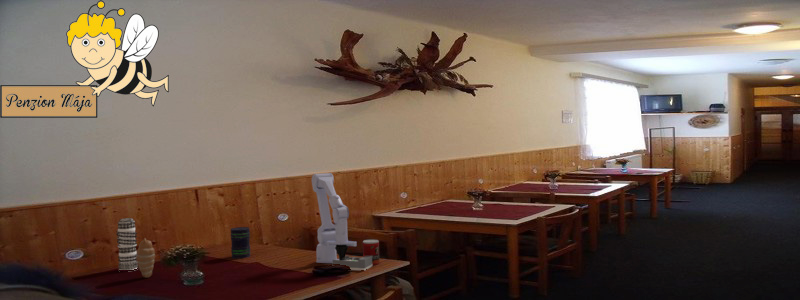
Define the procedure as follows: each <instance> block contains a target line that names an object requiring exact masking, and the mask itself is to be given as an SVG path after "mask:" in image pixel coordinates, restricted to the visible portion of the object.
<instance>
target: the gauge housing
mask: <svg viewBox="0 0 800 300" xmlns="http://www.w3.org/2000/svg"><path fill="white" fill-rule="evenodd" d="M351 257H352V258H356V260H340V258H339V257H338V259H339V260H332V262H333V263H332V265H333V264H340V265H346V266H349V267H350V269H351V270H350V271H361V270H364V271H366V269H367V270H368V269H370V268H372V267H373V266H374V265H373V264H372V256H367V255H366V256H364V257H363V256H362V257H357V256H349V258H351Z"/></svg>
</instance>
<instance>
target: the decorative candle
mask: <svg viewBox="0 0 800 300" xmlns="http://www.w3.org/2000/svg"><path fill="white" fill-rule="evenodd" d="M135 223H136V221H135V220H134V219H133V218H132V217H127V218H121V219H119V220H118V222H117V230H116V236H117V237H116V240H117V241H116V243H117V248H118V257H117V258H118V259H117V260H118V271H119V270H134V269H137V268H138V267H139V266H138V260H137V245H138V242H137V241H138V240H137V239H136V238H138V236H137V234H138V232H136V224H135ZM137 270H138V269H137ZM134 271H135V270H134Z"/></svg>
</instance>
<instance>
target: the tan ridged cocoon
mask: <svg viewBox="0 0 800 300" xmlns="http://www.w3.org/2000/svg"><path fill="white" fill-rule="evenodd" d="M155 253H156V251H155V248H154V247H153V243H152V241H151V240H149V239H147V238H146V237H144V238H143V240H141V241H140V242H139V245H138V249H136V254H137V257H136V258H137V260H136V261H137V262H138V263H137V265H138V266H137V267H138V270H139V271H140V272H141V275H142V277H143V278H145V279H146V278H147V279H148V278H150V277H151V276H152V275H153V269H154V267H155V266H154V264H155V258H156V254H155Z"/></svg>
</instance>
